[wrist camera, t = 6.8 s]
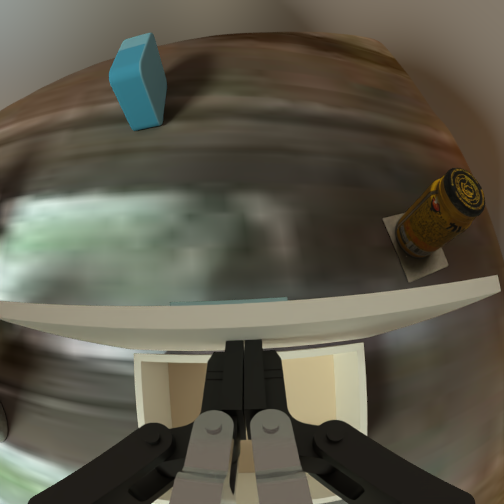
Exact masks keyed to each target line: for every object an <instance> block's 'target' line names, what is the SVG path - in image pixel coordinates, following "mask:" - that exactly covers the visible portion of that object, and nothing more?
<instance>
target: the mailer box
mask: <svg viewBox="0 0 504 504" xmlns="http://www.w3.org/2000/svg"><path fill="white" fill-rule="evenodd" d="M276 352H277V353H278V355H279V356H280V358H281V360H282V368H283V375H284V383H285V391H286V399H287V407H288V411H289V413H290V414H291V416H292V417H293V418H295V419H296V420H298V421H300V422H302V423H306V424H312V425H318V426H319V425H321V424H322V423H324V422H326V421H329V420H341V421H344V422H346V423H348V424H349V425H351V426H352V427H354V428H355V429H357V430H358V431H360V432H361V433H363V434H364V435H366V436H367V391H366V370H365V355H364V343H354V344H344V345H335V346H326V347H318V348H308V349H298V350H286V351H276ZM211 356H212V354H135V353H134V373H135V392H136V406H137V417H138V427H139V428H140V427H141V426H143V425H145V424H147V423H160V424H163V425H165V426H166V427H167V428H168V429H171V428H176V427H181V426H185V425H188V424H190V423H192V422H193V421H194V420H195V419H196V418H197V417H198V416H199V414H200V412H201V407H202V399H203V392H204V384H205V377H206V370H207V363H208V360H209V359H210V357H211ZM305 474H306V477H307V480H308V485H309V489H310V493H311V498H312V502H313V504H320V503H326V502H331V501H337V500H341V498H340V497H338V496H337V495H336V494H334V493H333V492H331V491H330V490H329V489H327V488H326V487H325V486H323V485H322V484H321V483H319V482H318V481H317V480H315V479H314V478H313V477H312V476H310V475H309V474H308V473H307V472H305ZM172 489H173V487H172V488H171V489H169V490H168V491H167V492H166V493H164V494H163V495H162V496H161V497H159V498H158V499H157V500H155V501H154V502H153V503H155V504H169V502H170V498H171V493H172ZM236 504H259V500H258V492H257V483H256V475H255V467H254V458H253V449H252V440H248V436H247V428H246V440H241V442H240V459H239V469H238V478H237V488H236Z"/></svg>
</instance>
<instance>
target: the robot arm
mask: <svg viewBox="0 0 504 504" xmlns="http://www.w3.org/2000/svg"><path fill="white" fill-rule="evenodd" d="M246 428H247V436H248V440H252V449H253V458H254V467H255V475H256V483H257V492H258V500H259V504H313V502H312V498H311V493H310V489H309V485H308V480H307V477H306V474H305V472H307V473H308V474H309V475H310V476H312V477H313V478H314V479H315V480H317V481H318V482H319V483H321V484H322V485H323V486H325V487H326V488H327V489H329V490H330V491H331V492H333V493H334V494H336V495H337V496H338V497H340V498H341V499H343V500H344V501H346V502H347V503H348V504H475V500H474V498H473V497H472V495H471V494H469V493H467V492H465V491H463V490H461V489H459V488H457V487H455V486H453V485H451V484H449V483H447V482H445V481H443V480H441V479H439V478H437V477H435V476H433V475H432V474H430V473H428V472H426V471H424V470H422V469H421V468H419V467H417V466H415V465H414V464H412V463H410V462H408V461H407V460H405V459H403V458H402V457H400V456H398V455H396V454H395V453H393V452H391V451H390V450H388V449H387V448H385V447H383V446H382V445H380V444H379V443H377V442H375V441H374V440H372V439H371V438H369V437H368V436H366V435H364V434H363V433H361V432H360V431H358V430H357V429H355V428H354V427H352V426H351V425H349V424H348V423H346V422H344V421H341V420H329V421H326V422H324V423H322V424H321V425H319V426H318V425H312V424H306V423H302V422H300V421H298V420H296V419H295V418H293V417H292V416H291V414H290V413H289V411H288V407H287V399H286V391H285V383H284V375H283V368H282V360H281V358H280V356H279V355H278V353H277V352H276V351H275V350H270V351H263V348H262V339H256V340H245V351H244V341H243V340H234V341H226V344H225V352H214V353H213V354H212V356H211V357H210V359H209V360H208V363H207V370H206V377H205V384H204V392H203V399H202V407H201V412H200V414H199V416H198V417H197V418H196V419H195V420H194V421H193V422H192V423H190V424H188V425H185V426H181V427H176V428H171V429H168V428H167V427H166V426H165V425H163V424H160V423H147V424H145V425H143V426H141V427H140V428H138V429H137V430H135V431H134V432H133V433H131V434H130V435H129V436H127V437H126V438H124V439H123V440H122V441H120V442H119V443H117V444H116V445H114V446H113V447H112V448H110V449H109V450H107V451H106V452H104V453H103V454H101V455H100V456H98V457H97V458H95V459H94V460H92V461H91V462H89V463H88V464H86V465H85V466H83V467H82V468H80V469H78V470H77V471H75V472H74V473H72V474H71V475H69V476H67V477H66V478H64V479H62V480H61V481H59V482H57V483H56V484H54V485H52V486H51V487H49V488H47V489H46V490H44V491H42V492H40V493H39V494H37V495H35V496H33V497H32V498H31V499H30V500H29V502H28V504H151V503H153V502H154V501H155V500H157V499H158V498H159V497H161V496H162V495H163V494H164V493H166V492H167V491H168V490H169V489H171V488H172V487H173V489H172V493H171V498H170V502H169V504H236V488H237V478H238V469H239V459H240V442H241V440H246ZM7 432H8V429H7V420H6V416H5V413H4V410H3V407H2V405H1V403H0V442H3V441H4V440H5V439H6V437H7Z"/></svg>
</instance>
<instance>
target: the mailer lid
mask: <svg viewBox="0 0 504 504" xmlns="http://www.w3.org/2000/svg"><path fill="white" fill-rule="evenodd" d="M500 291H501V289H500V284H499V279H498V275H494V276H488V277H483V278H477V279H471V280H465V281H459V282H453V283H446V284H439V285H433V286H426V287H418V288H411V289H403V290H395V291H387V292H378V293H369V294H360V295H350V296H340V297H329V298H317V299H305V300H292V301H288V300H287V297H279V298H263V299H244V300H223V301H195V302H170V306H84V305H56V304H36V303H20V302H6V301H0V320H4V321H7V322H10V323H13V324H17V325H20V326H24V327H27V328H31V329H35V330H39V331H42V332H46V333H50V334H55V335H59V336H63V337H68V338H72V339H77V340H82V341H87V342H92V343H97V344H102V345H108V346H114V347H120V348H126V349H138V350H166V351H218V350H225V344H226V341H234V340H243V341H244V350H245V340H256V339H262V348H263V349H265V348H280V347H292V346H303V345H313V344H322V343H331V342H339V341H347V340H354V339H361V338H367V337H371V336H375V335H378V334H382V333H386V332H389V331H393V330H396V329H399V328H403V327H406V326H409V325H412V324H416V323H419V322H422V321H425V320H428V319H431V318H434V317H437V316H440V315H442V314H445V313H448V312H451V311H453V310H456V309H459V308H461V307H464V306H467V305H469V304H472V303H474V302H477V301H479V300H482V299H484V298H486V297H489V296H491V295H493V294H496V293H498V292H500Z"/></svg>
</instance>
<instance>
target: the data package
mask: <svg viewBox="0 0 504 504" xmlns="http://www.w3.org/2000/svg"><path fill="white" fill-rule="evenodd" d="M109 81H110V84H111V86H112V89H113V91H114V93H115V95H116V97H117V99H118V101H119V104H120V106H121V108H122V110H123V112H124V114H125V116H126V118H127V120H128V122H129V124H130V126H131V128H132V130H134V131H137V130H141V129H146V128H150V127H155V126H160V125H162V123H163V115H164V106H165V98H166V91H167V81H166V77H165V73H164V70H163V66H162V63H161V59H160V56H159V52H158V49H157V45H156V41H155V38H154V35H153V34H152V33H147V34H143V35H139V36H136V37H132V38H129V39H125V40H124V41H123V43H122V45H121V47H120V49H119V51H118V54H117V56H116V58H115V60H114V62H113V64H112V67H111V69H110V71H109Z"/></svg>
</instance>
